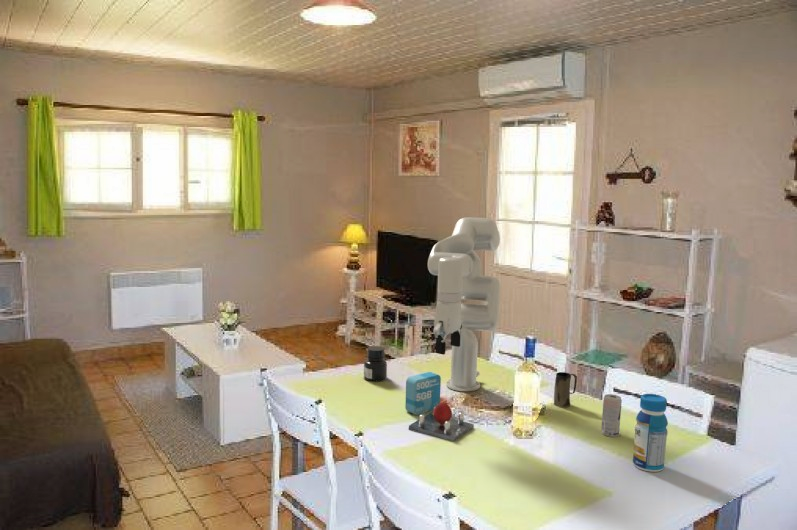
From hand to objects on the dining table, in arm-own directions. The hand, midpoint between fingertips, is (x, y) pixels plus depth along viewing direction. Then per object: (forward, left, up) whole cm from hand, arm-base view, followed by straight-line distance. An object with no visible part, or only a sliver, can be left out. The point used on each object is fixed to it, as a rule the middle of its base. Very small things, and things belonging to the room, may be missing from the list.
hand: (448, 349), depth 207 cm
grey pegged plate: (+5, +1, -24) cm, 25 cm away
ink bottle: (-24, -44, -25) cm, 56 cm away
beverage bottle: (-6, +61, -25) cm, 66 cm away
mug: (-39, +26, -25) cm, 53 cm away
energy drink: (-23, +46, -25) cm, 57 cm away
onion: (+4, +1, -23) cm, 24 cm away
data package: (-6, -12, -25) cm, 28 cm away
